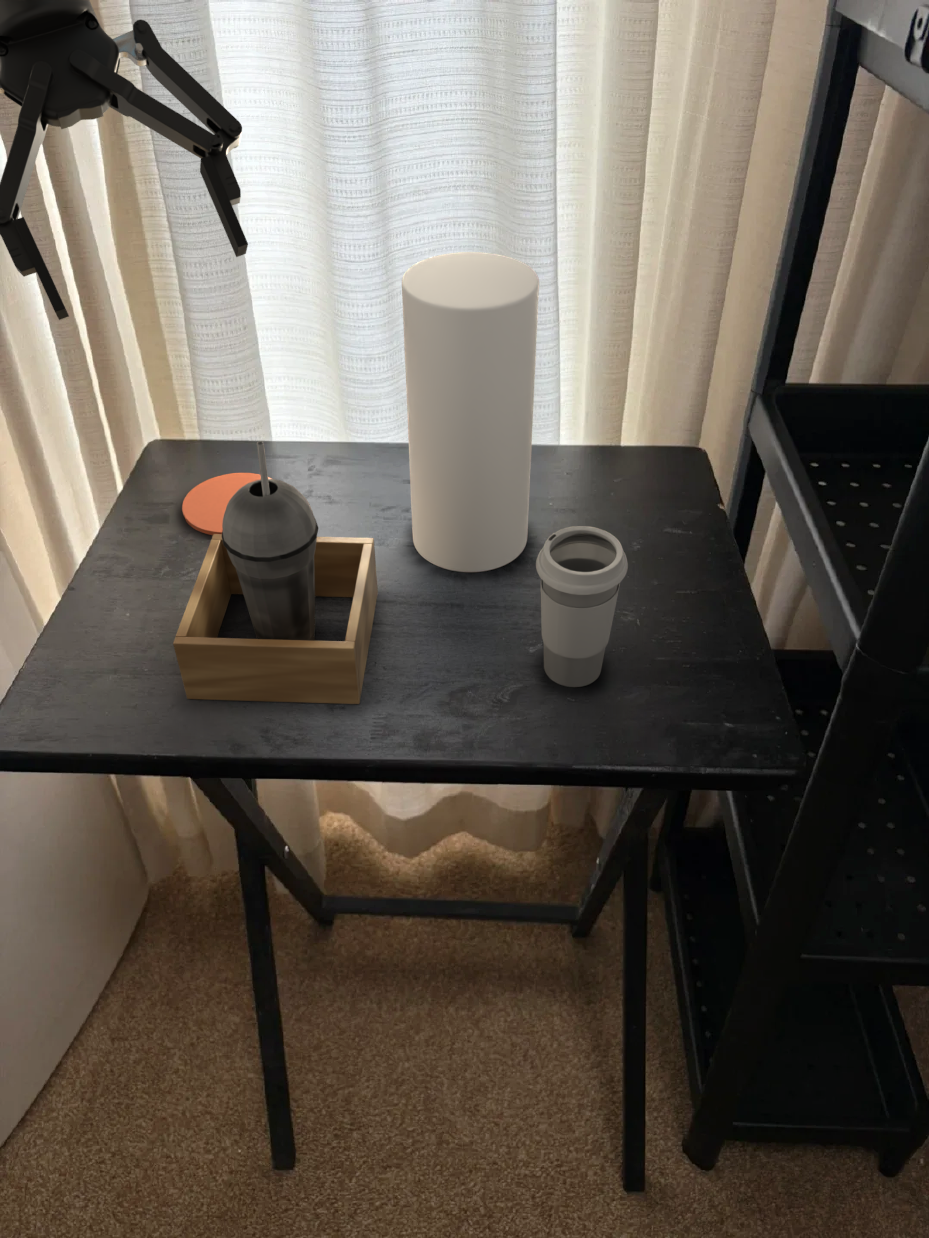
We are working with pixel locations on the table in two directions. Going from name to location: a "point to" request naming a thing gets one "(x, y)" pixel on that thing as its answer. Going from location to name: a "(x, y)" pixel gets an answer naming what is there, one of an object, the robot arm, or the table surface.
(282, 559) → the beverage cup
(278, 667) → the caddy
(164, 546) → the table surface
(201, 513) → the coaster
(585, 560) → the cup
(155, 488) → the table surface
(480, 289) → the tall pillar cylinder
